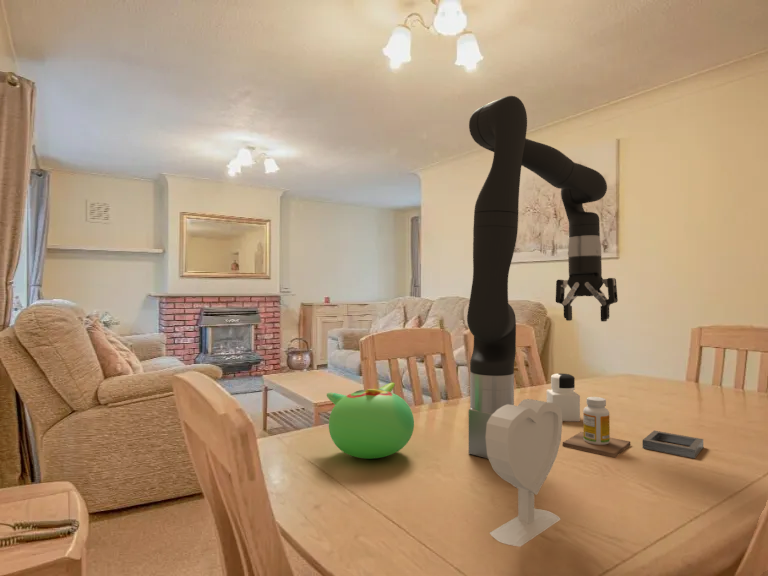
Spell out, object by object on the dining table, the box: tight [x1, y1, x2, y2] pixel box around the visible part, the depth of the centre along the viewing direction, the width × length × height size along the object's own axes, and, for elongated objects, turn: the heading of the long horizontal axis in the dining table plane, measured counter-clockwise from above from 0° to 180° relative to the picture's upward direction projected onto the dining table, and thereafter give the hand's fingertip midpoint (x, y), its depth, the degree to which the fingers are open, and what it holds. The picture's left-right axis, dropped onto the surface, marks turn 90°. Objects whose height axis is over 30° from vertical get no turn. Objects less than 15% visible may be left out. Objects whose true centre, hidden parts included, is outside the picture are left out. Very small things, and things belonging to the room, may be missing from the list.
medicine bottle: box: [546, 372, 581, 423], centre depth 130 cm, size 7×7×12 cm
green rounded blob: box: [326, 382, 415, 460], centre depth 101 cm, size 18×17×15 cm
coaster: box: [562, 431, 631, 458], centre depth 107 cm, size 11×11×1 cm
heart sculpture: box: [485, 398, 563, 548], centre depth 70 cm, size 16×5×18 cm, turn 133°
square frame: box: [642, 430, 704, 459], centre depth 105 cm, size 10×10×2 cm
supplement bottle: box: [582, 396, 611, 445], centre depth 107 cm, size 5×5×10 cm
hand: (585, 320), depth 117 cm, fingers open, 8 cm apart
